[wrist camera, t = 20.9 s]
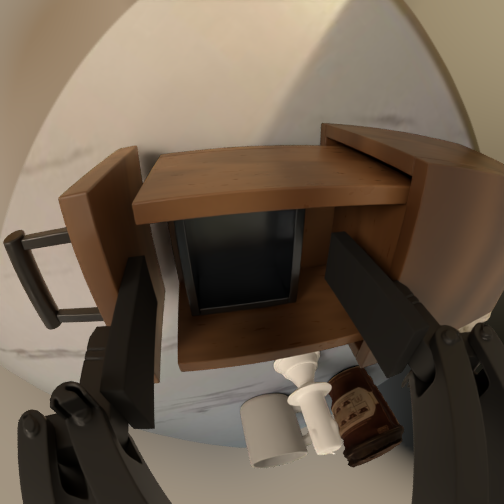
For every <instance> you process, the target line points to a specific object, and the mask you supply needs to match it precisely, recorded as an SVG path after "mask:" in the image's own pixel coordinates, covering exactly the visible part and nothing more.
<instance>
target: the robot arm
mask: <svg viewBox="0 0 504 504" xmlns="http://www.w3.org/2000/svg"><path fill="white" fill-rule="evenodd" d="M324 279H325V280H326V282H327V283H328V285H329V286H330V288H331V289H332V291H333V292H334V294H335V295H336V297H337V298H338V300H339V301H340V303H341V305H342V306H343V308H344V309H345V311H346V312H347V314H348V315H349V317H350V319H351V320H352V322H353V323H354V325H355V326H356V328H357V330H358V331H359V333H360V334H361V336H362V338H363V339H364V341H365V342H366V344H367V346H368V347H369V349H370V351H371V352H372V354H373V356H374V357H375V359H376V360H377V362H378V364H379V365H380V367H381V369H382V371H383V372H384V374H385V376H386V377H387V378H390V377H392V376H394V375H397V374H399V373H401V372H402V371H403V370H404V368H405V367H406V365H407V364H409V366H410V367H411V370H410V372H409V373H408V375H407V376H406V377H405V379H404V381H403V382H402V386H401V387H404V386H405V385H406V384H407V382H408V381H409V383H408V386H407V387H410V393H411V404H412V417H413V435H414V436H413V437H414V477H413V496H412V504H504V345H503V344H502V342H501V340H500V339H499V337H498V336H497V334H496V332H495V331H494V330H493V328H492V327H491V326H489V325H488V324H486V323H483V322H479V323H477V324H476V325H475V326H474V328H473V330H472V331H471V332H463V333H460V332H459V331H458V330H457V329H455V328H454V327H452V326H449V325H440V324H439V323H438V322H437V321H436V319H435V318H434V317H433V316H432V315H431V313H430V312H429V311H428V310H427V309H426V308H425V306H424V305H423V304H422V303H421V302H419V300H418V298H417V297H416V296H414V294H413V293H412V292H411V291H410V289H409V288H408V287H407V286H405V285H404V284H402V283H401V282H399V281H398V280H396V281H392V280H391V279H390V278H389V277H388V276H387V275H386V274H385V273H384V271H383V270H382V269H381V268H380V267H379V266H378V265H377V264H376V263H375V262H374V261H373V260H372V258H371V257H370V256H369V255H368V254H367V253H366V252H365V251H364V250H363V249H362V248H361V247H360V246H359V245H358V244H357V243H356V242H355V241H354V240H353V239H352V238H351V237H350V236H349V235H348V234H347V233H346V232H345V231H342V232H333V233H331V240H330V246H329V253H328V259H327V265H326V271H325V277H324ZM157 305H158V301H157V298H156V295H155V291H154V288H153V285H152V281H151V278H150V274H149V270H148V267H147V263H146V259H145V255H142V256H135V257H128V260H127V264H126V267H125V271H124V274H123V278H122V281H121V285H120V289H119V293H118V297H117V301H116V305H115V309H114V313H113V318H112V322H111V326H102V327H96V329H95V330H94V332H93V333H92V335H91V336H90V338H89V342H88V346H87V351H86V354H85V360H84V363H83V368H82V373H81V378H80V383H77V382H72V381H69V382H64V383H62V384H61V385H59V386H57V388H56V389H55V390H54V391H53V393H52V395H51V398H50V408H51V409H53V410H54V411H55V412H56V414H52V415H48V416H44V415H43V414H41V413H40V412H39V411H37V410H28V411H26V412H25V413H24V414H23V415H22V416H21V418H20V420H19V422H18V464H19V476H20V485H21V492H22V499H23V504H172V503H171V502H170V500H169V499H168V498H167V496H166V495H165V493H164V492H163V490H162V489H161V487H160V486H159V484H158V483H157V481H156V479H155V478H154V476H153V474H152V473H151V471H150V469H149V468H148V466H147V464H146V463H145V461H144V459H143V457H142V455H141V454H140V452H139V450H138V448H137V446H136V445H135V443H134V440H133V439H132V437H131V436H130V434H129V433H128V423H129V424H130V425H131V426H132V427H133V428H134V429H155V424H154V357H155V334H156V318H157ZM480 363H481V365H482V367H483V369H482V370H481V371H480V372H479V373H476V371H475V369H476V368H477V367H478V365H479V364H480Z"/></svg>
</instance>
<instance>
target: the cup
mask: <svg viewBox="0 0 504 504" xmlns="http://www.w3.org/2000/svg"><path fill="white" fill-rule="evenodd" d="M287 400H288V396H286V395H284V394H279V393H272V394H264V395H260V396H257V397H254V398H252V399H250V400H248V401H246V402H245V403H244V404H243V405H242V407H241V409H240V414H241V420H242V425H243V430H244V435H245V440H246V445H247V449H248V453H249V459H250V463H251V467H254V468H268V467H275V466H280V465H284V464H288V463H291V462H294V461H296V460H299V459H301V458H303V457H305V456H306V455H307V454H308V452H307V449H306V446H308V445H310V444H312V440H311V437H310V434H309V431H308V433H307V434H306V435H304V436H302V433H301V430H300V427H299V423H298V420H297V417H296V414H295V413H298V412H301V413H302V410H301V407H300V406H293V405H290V404H289V403H288V402H287Z"/></svg>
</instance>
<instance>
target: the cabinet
mask: <svg viewBox="0 0 504 504" xmlns="http://www.w3.org/2000/svg"><path fill="white" fill-rule="evenodd" d="M320 146H344V147H347V148H350V149H352V150H354V151H356V152H359V153H361V154H363V155H365V156H367V157H369V158H371V159H373V160H375V161H377V162H379V163H382V164H384V165H385V166H387V167H389V168H391V169H393V170H395V171H397V172H399V173H401V174H403V175H405V176H406V177H408V178H410V179H412V181H411V186H410V191H409V196H408V201H407V206H406V210H405V214H404V219H403V223H402V227H401V231H400V235H399V239H398V242H397V246H396V249H395V253H394V256H393V260H392V263H391V266H390V270H389V273H388V277H389V278H390V279H391V280H392V281H396V280H398V281H399V282H401V283H402V284H404V285H405V286H407V287H408V288H409V289H410V291H411V292H412V293H413V294H414V296H416V297H417V298H418V300H419V302H421V303H422V304H423V305H424V306H425V308H426V309H427V310H428V311H429V312H430V313H431V315H432V316H433V317H434V318H435V319H436V321H437V322H438V323H439V324H440V325H449V326H452V327H454V328H455V329H457V330H458V329H460V328H462V327H464V326H466V325H468V324H470V323H472V322H473V321H475V320H477V319H479V318H481V317H483V316H484V315H486V314H488V313H490V312H491V311H492V310H493V308H494V306H495V305H496V302H497V301H498V299H499V297H500V296H501V294H502V292H503V290H504V164H503V163H501V162H499V161H497V160H494V159H492V158H490V157H488V156H486V155H484V154H482V153H479V152H477V151H475V150H472V149H470V148H468V147H465V146H463V145H460V144H457V143H453V142H449V141H445V140H440V139H436V138H431V137H426V136H422V135H416V134H411V133H405V132H399V131H393V130H386V129H379V128H372V127H363V126H354V125H343V124H330V123H322V124H321V143H320ZM348 345H349V347H350V348H351V350H352V352H353V354H354V356H355V357H356V360H357V362H358V364H359V366H360V368H363V367H366V366H369V365H372V364H375V363H378V362H377V360H376V359H375V357H374V356H373V354H372V352H371V351H370V349H369V347H368V346H367V344H366V342H365V341H364V340H361V341H357V342H353V343H350V344H348Z"/></svg>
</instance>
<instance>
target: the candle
mask: <svg viewBox="0 0 504 504" xmlns="http://www.w3.org/2000/svg"><path fill="white" fill-rule="evenodd" d="M319 357H320V351H317V352H312V353H308V354H303V355H298V356H293V357H288V358H283V359H277V360H275V362H274V369H275V371H276V372H278V373H280V374H283V375H284V377H285V378H286V379H288V380H291V381H292V382H293V383H294V384H295V385H296V386H297V387H298V389H297V390H296V391H295V392H293V393H292V394H291V395H290V396H289V397H288V400H287V402H288V403H289V404H290V405H293V406H300V407H301V410H302V413H303V416H304V419H305V422H306V425H307V428H308V431H309V434H310V437H311V440H312V443H313V445H314V448H315V451H316V453H317V454H318V455H323V454H324V455H325V454H329V453H332V454H334V455H335V453H333V451H336V450H338V449H339V448H340V447H341V446H342V440H341V437H340V434H339V429H338V424H337V422H336V421H335V420H334V419H333V418H332V416H331V413H330V410H329V408H328V405H327V403H326V400H325V398H324V397H325V396H326V395H327V394H328V393H329V392H330V391H331V388H332V386H331V385H330V384H329V383H326V382H314V375H315V371H316V369H317V366H318V364H317V361H318V359H319Z"/></svg>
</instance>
